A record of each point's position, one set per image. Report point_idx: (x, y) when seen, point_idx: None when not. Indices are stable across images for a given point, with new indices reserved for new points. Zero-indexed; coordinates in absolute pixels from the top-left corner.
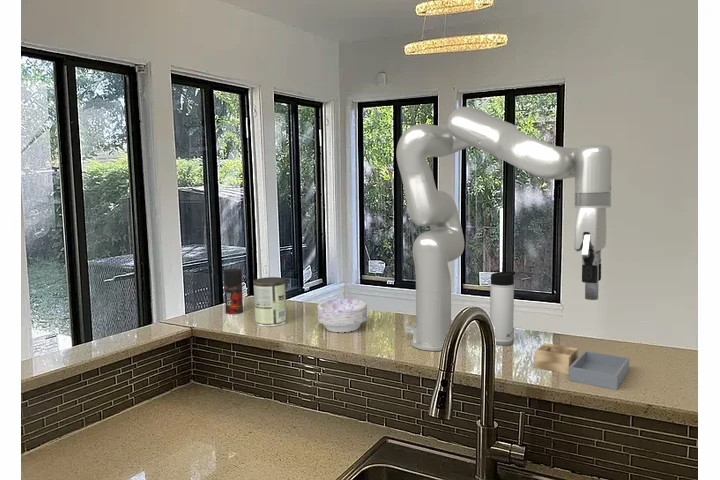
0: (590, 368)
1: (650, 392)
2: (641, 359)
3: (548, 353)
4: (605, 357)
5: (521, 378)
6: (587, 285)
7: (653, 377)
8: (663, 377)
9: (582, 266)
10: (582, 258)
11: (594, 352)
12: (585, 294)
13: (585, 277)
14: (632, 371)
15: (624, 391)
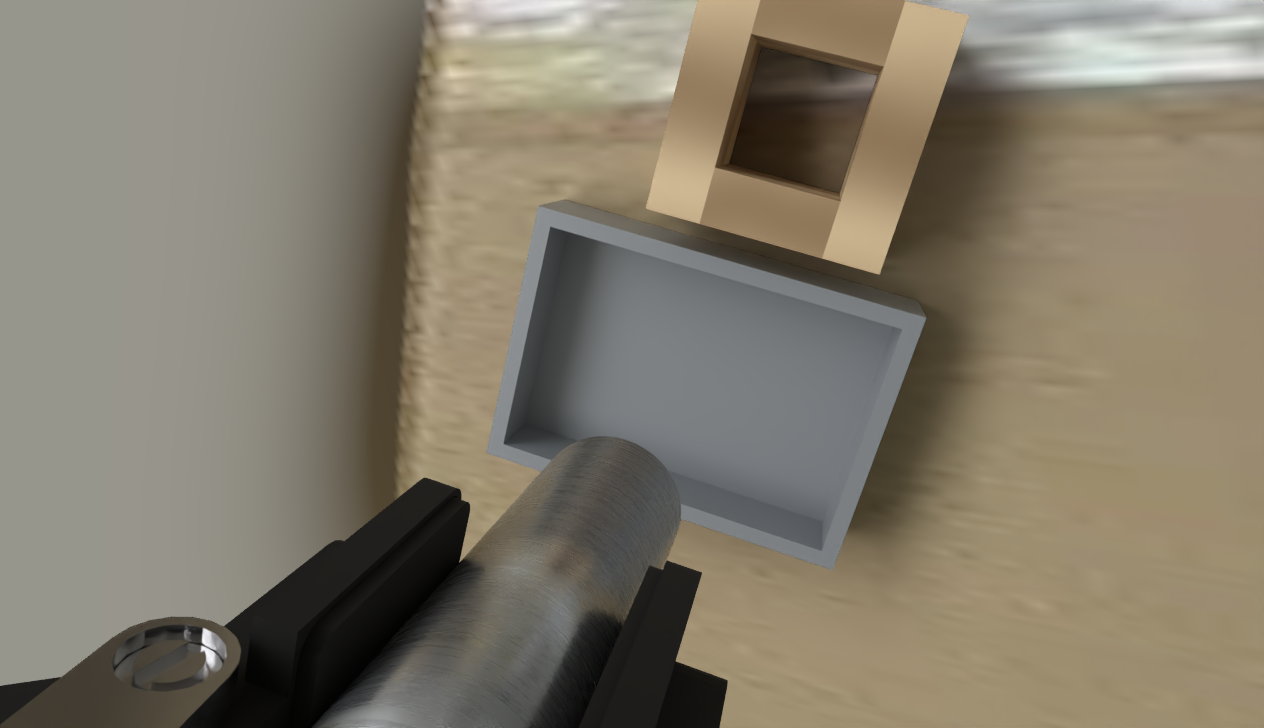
0: (765, 330)
1: None
2: (1086, 642)
3: (692, 65)
4: (861, 436)
5: None
6: (492, 527)
7: (760, 627)
8: (775, 672)
9: (270, 605)
10: (29, 709)
11: (899, 379)
12: (569, 457)
13: (329, 550)
14: None
15: None
